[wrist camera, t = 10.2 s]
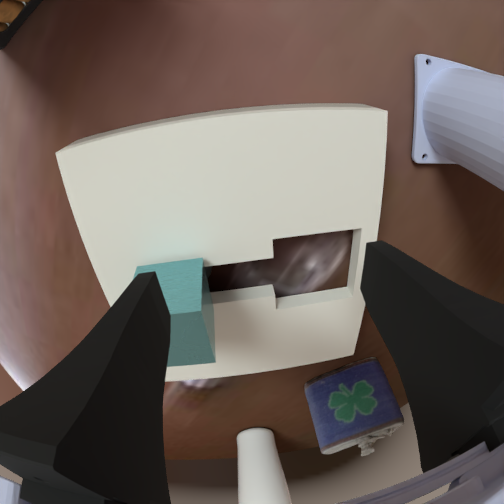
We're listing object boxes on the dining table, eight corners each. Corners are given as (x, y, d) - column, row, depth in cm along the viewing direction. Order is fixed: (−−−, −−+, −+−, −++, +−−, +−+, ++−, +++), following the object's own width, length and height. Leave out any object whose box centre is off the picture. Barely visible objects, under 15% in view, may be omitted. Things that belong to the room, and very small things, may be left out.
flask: (305, 391, 33) (326, 471, 24) (300, 380, 32) (322, 465, 23) (378, 364, 33) (411, 439, 24) (377, 351, 31) (414, 431, 22)
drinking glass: (232, 424, 36) (244, 526, 24) (281, 422, 37) (301, 519, 25) (230, 442, 40) (239, 530, 27) (273, 439, 41) (288, 524, 28)
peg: (206, 224, 20) (204, 306, 14) (216, 277, 23) (220, 364, 16) (143, 234, 20) (115, 316, 13) (159, 284, 22) (144, 370, 16)
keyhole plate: (362, 103, 17) (387, 111, 14) (342, 329, 28) (353, 354, 25) (78, 139, 16) (55, 153, 13) (153, 354, 27) (150, 382, 24)
